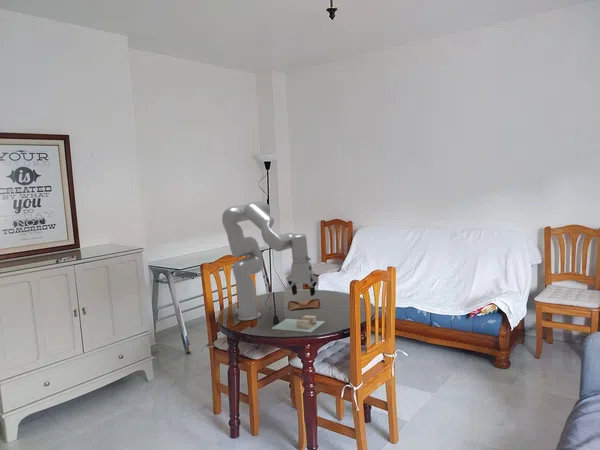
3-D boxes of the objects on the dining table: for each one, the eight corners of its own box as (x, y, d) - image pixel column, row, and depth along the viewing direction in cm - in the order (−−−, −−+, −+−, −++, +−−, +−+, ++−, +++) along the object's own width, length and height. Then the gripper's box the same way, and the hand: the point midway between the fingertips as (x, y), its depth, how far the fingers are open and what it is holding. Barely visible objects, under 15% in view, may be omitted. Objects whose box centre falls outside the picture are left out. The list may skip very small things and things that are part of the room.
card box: (305, 322, 228) (305, 315, 228) (316, 323, 225) (316, 316, 225) (297, 328, 220) (296, 321, 220) (308, 329, 218) (307, 322, 217)
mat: (271, 329, 224) (271, 328, 224) (286, 319, 237) (286, 318, 237) (311, 332, 213) (311, 332, 213) (325, 322, 226) (325, 321, 226)
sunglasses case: (287, 311, 250) (286, 299, 253) (288, 314, 257) (287, 302, 260) (320, 308, 250) (319, 296, 253) (320, 311, 257) (319, 299, 259)
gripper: (320, 258, 218) (323, 293, 220) (288, 258, 227) (291, 291, 229) (313, 261, 212) (316, 298, 214) (280, 261, 220) (284, 296, 222)
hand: (303, 294), depth 221 cm, fingers open, 9 cm apart
